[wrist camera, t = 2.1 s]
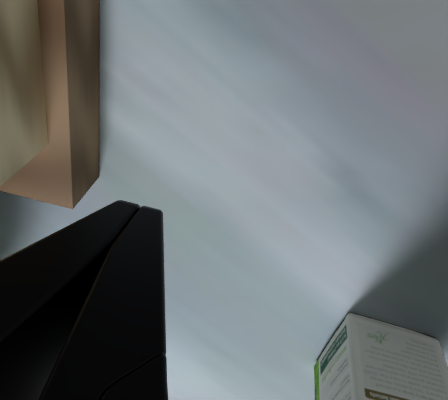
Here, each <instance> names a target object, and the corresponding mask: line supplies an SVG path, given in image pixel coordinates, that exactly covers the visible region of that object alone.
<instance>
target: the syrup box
mask: <svg viewBox="0 0 448 400" xmlns="http://www.w3.org/2000/svg"><path fill="white" fill-rule="evenodd" d="M314 375H315V400H448V367H447V364H446V361H445V358H444V354H443V351H442V348H441V345H440V343H439V341H438V340H437V339H435V338H432V337H429V336H426V335H423V334H420V333H417V332H415V331H411V330H408V329H405V328H402V327H398V326H395V325H392V324H388V323H385V322H381V321H378V320H374V319H371V318H367V317H364V316H360V315H356V314H353V313H348V314H347V316H346V317H345V320H344V322H343V323H342V324H341V326H340V327H339V329H338V330H337V331H336V333H335V334H334V336H333V337H332V339H331V340H330V342H329V344H328V345H327V347H326V348H325V350H324V351H323V353H322V355H321V356H320V358H319V359H318V361H317V363H316V364H315V366H314Z"/></svg>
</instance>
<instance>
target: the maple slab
mask: <svg viewBox="0 0 448 400" xmlns="http://www.w3.org/2000/svg"><path fill="white" fill-rule="evenodd" d="M47 145H48V134H47V121H46V108H45V95H44V82H43V69H42V56H41V42H40V29H39V16H38V3H37V0H0V186H1V185H3V184H4V183H5V182H6V181H7V180H8V179H9V178H11V177H12V176H13V175H14V174H15V173H16V172H17V171H19V170H20V169H21V168H22V167H23V166H24V165H25V164H27V163H28V162H29V161H30V160H31V159H32V158H34V157H35V156H36V155H37V154H38V153H39V152H40V151H42V150H43V149H44V148H45V147H46V146H47Z"/></svg>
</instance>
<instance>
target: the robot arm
mask: <svg viewBox="0 0 448 400" xmlns="http://www.w3.org/2000/svg"><path fill="white" fill-rule="evenodd" d="M165 355H166V329H165V284H164V239H163V212H162V211H161V210H159V209H155V208H151V207H147V206H142V207H140V206H139V205H138V204H135V203H131V202H127V201H123V200H118V201H116V202H114V203H112V204H110V205H108V206H106V207H104V208H102V209H100V210H98V211H96V212H94V213H92V214H90V215H88V216H86V217H84V218H82V219H80V220H78V221H76V222H74V223H73V224H71V225H69V226H67V227H65V228H63V229H61V230H59V231H57V232H55V233H53V234H51V235H49V236H47V237H45V238H43V239H41V240H39V241H37V242H35V243H33V244H31V245H29V246H27V247H25V248H24V249H22V250H20V251H18V252H16V253H14V254H12V255H10V256H8V257H6V258H4V259H2V260H0V400H168V390H167V362H166V356H165Z"/></svg>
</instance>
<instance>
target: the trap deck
mask: <svg viewBox="0 0 448 400" xmlns="http://www.w3.org/2000/svg"><path fill="white" fill-rule="evenodd" d="M37 3H38V16H39V29H40V42H41V56H42V69H43V82H44V95H45V108H46V121H47V134H48V145H47V146H46V147H45V148H44V149H43V150H42V151H40V152H39V153H38V154H37V155H36V156H35V157H34V158H32V159H31V160H30V161H29V162H28V163H27V164H25V165H24V166H23V167H22V168H21V169H20V170H19V171H17V172H16V173H15V174H14V175H13V176H12V177H11V178H9V179H8V180H7V181H6V182H5V183H4V184H3V185H1V186H0V191H3V192H7V193H11V194H15V195H19V196H23V197H27V198H31V199H35V200H39V201H43V202H47V203H51V204H55V205H59V206H63V207H67V208H71V209H73V208H74V207H75V206H76V205H77V203H78V202H79V201H80V200H81V198H82V197H83V196H84V195H85V194H86V192H87V191H88V190H89V189H90V187H91V186H92V185H93V184H94V182H95V181H96V180H97V179H98V178H99V0H37Z"/></svg>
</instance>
